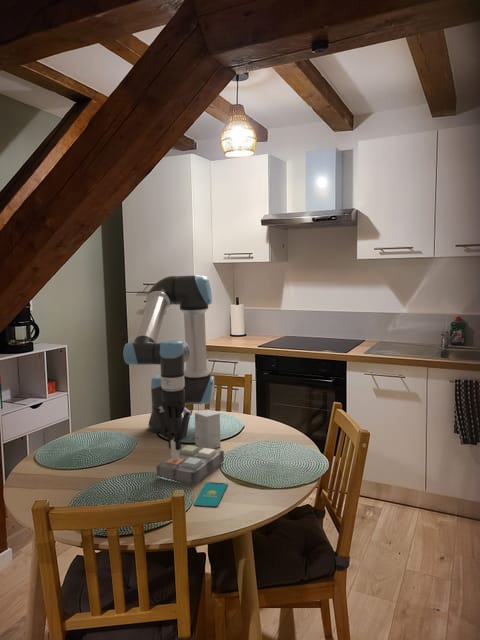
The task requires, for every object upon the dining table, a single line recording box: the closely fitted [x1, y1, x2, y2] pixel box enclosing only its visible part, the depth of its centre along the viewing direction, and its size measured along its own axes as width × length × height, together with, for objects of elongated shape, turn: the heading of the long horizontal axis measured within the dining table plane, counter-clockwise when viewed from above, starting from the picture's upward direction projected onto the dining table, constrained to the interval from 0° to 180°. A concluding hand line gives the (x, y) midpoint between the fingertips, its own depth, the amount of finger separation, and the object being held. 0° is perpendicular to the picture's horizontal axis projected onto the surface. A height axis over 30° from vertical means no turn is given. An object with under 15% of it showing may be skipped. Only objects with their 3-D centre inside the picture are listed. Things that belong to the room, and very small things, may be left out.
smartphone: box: [193, 481, 229, 508], centre depth 144 cm, size 7×1×15 cm
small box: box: [194, 408, 222, 449], centre depth 183 cm, size 8×6×13 cm
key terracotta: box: [166, 458, 185, 466], centre depth 158 cm, size 4×4×3 cm
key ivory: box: [198, 448, 216, 459], centre depth 164 cm, size 4×4×3 cm
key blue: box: [183, 457, 202, 469], centre depth 156 cm, size 4×4×3 cm
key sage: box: [180, 444, 199, 456], centre depth 167 cm, size 4×4×3 cm
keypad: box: [156, 446, 225, 487], centre depth 161 cm, size 14×20×4 cm
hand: (175, 458), depth 158 cm, fingers closed
